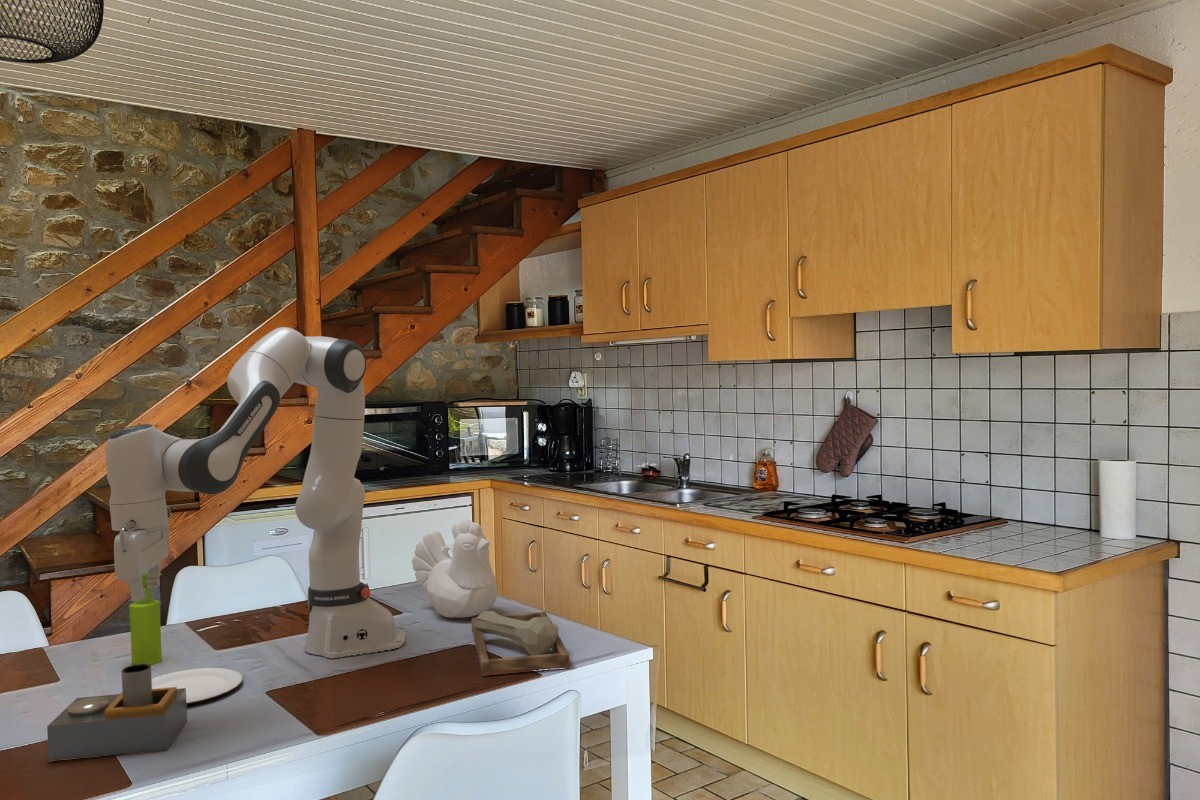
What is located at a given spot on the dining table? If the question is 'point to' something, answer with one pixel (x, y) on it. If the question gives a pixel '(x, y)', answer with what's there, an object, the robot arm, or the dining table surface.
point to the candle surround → (524, 662)
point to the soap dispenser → (145, 628)
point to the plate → (200, 682)
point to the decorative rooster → (456, 571)
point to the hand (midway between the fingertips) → (146, 593)
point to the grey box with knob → (117, 725)
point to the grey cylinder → (137, 685)
